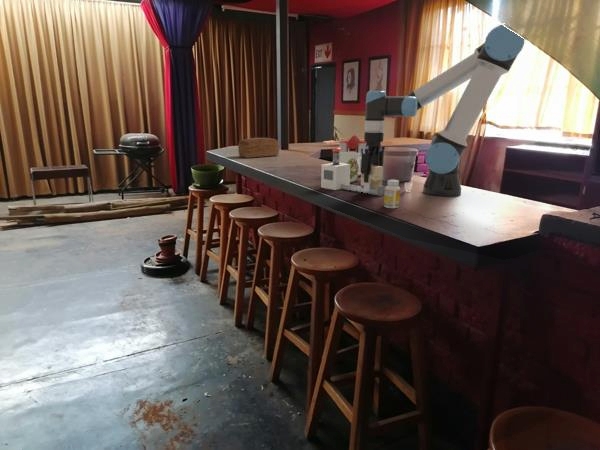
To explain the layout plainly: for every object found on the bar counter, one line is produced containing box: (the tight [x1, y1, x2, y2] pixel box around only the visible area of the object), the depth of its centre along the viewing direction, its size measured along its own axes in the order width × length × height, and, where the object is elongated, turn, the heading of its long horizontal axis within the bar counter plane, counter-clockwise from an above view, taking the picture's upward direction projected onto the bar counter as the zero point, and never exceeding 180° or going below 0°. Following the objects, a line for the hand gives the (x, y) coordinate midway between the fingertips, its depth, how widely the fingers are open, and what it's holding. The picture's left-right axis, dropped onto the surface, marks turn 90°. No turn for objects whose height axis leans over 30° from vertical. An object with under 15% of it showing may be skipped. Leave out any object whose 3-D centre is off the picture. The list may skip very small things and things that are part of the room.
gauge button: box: [331, 147, 341, 165], centre depth 186 cm, size 4×4×7 cm
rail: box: [340, 184, 386, 197], centre depth 180 cm, size 20×4×4 cm, turn 47°
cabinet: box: [320, 162, 351, 191], centre depth 189 cm, size 8×10×10 cm
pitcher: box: [339, 152, 362, 183], centre depth 203 cm, size 11×18×14 cm, turn 112°
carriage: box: [360, 164, 384, 190], centre depth 176 cm, size 7×5×9 cm
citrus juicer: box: [338, 134, 366, 177], centre depth 219 cm, size 16×17×20 cm
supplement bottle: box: [383, 179, 401, 209], centre depth 155 cm, size 5×5×10 cm
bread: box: [237, 137, 280, 159], centre depth 289 cm, size 14×28×12 cm, turn 126°
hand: (371, 189), depth 177 cm, fingers closed on carriage, 5 cm apart
